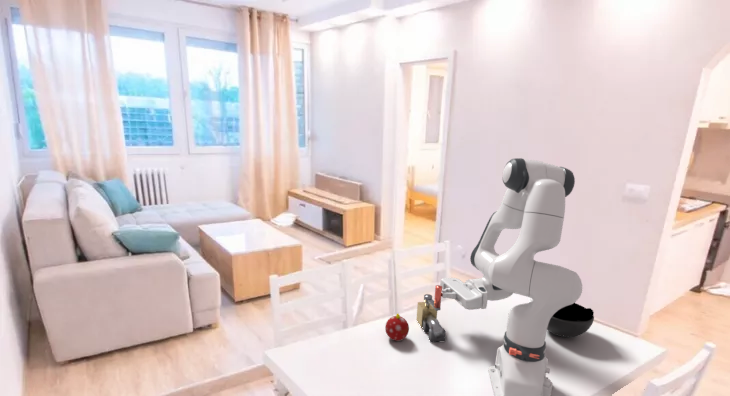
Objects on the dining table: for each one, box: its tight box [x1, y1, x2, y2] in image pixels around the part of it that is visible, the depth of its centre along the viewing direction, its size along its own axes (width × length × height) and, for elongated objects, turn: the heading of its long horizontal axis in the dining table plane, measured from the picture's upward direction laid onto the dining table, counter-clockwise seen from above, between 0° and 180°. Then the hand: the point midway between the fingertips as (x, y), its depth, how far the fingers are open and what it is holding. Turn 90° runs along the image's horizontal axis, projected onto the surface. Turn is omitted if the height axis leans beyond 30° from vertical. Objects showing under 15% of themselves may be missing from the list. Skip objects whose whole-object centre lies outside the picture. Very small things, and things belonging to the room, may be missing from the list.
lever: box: [423, 284, 443, 312], centre depth 144 cm, size 11×3×10 cm, turn 15°
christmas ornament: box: [384, 313, 410, 342], centre depth 138 cm, size 9×9×10 cm
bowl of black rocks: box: [547, 302, 595, 338], centre depth 146 cm, size 20×20×19 cm
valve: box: [416, 301, 447, 343], centre depth 144 cm, size 16×6×10 cm, turn 11°
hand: (441, 294), depth 140 cm, fingers closed, pressing on lever
